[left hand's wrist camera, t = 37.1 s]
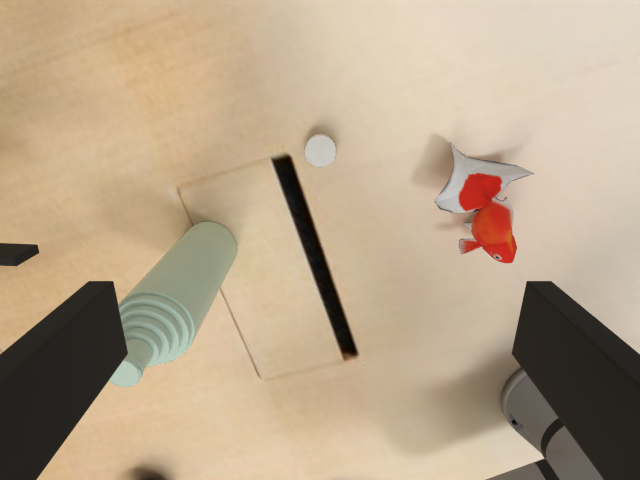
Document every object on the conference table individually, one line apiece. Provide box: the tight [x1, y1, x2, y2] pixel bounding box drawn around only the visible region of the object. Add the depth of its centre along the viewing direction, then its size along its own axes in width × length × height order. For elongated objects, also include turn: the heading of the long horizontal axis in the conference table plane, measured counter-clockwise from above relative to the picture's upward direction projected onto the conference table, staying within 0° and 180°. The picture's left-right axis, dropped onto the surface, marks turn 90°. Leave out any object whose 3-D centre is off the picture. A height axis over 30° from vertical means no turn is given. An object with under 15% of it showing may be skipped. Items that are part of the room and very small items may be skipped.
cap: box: [304, 133, 336, 167], centre depth 48 cm, size 4×4×2 cm
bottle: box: [109, 222, 237, 387], centre depth 41 cm, size 7×7×26 cm
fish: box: [434, 142, 534, 263], centre depth 47 cm, size 11×16×10 cm
